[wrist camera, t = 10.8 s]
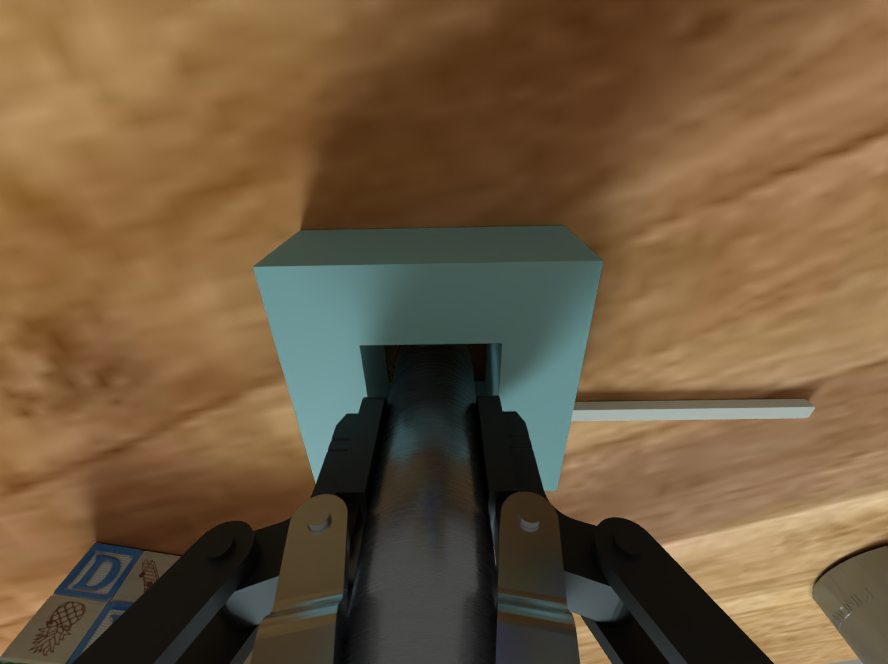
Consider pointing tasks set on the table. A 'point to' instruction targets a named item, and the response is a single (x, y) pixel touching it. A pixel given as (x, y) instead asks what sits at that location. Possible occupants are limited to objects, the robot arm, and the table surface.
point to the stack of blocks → (87, 604)
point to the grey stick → (692, 409)
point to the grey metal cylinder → (426, 524)
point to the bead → (432, 319)
